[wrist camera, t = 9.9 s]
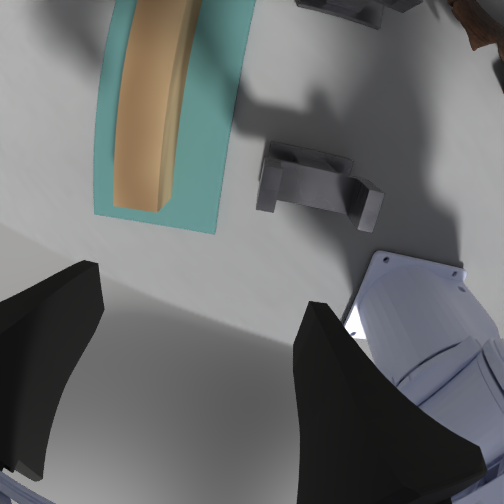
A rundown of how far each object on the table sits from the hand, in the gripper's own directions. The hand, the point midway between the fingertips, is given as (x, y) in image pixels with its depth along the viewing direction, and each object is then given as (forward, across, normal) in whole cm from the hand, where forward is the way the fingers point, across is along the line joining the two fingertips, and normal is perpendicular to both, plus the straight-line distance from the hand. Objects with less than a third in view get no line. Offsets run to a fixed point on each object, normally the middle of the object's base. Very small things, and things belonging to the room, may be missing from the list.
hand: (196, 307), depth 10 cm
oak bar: (+10, +5, -9) cm, 14 cm away
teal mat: (+10, +5, -9) cm, 15 cm away
